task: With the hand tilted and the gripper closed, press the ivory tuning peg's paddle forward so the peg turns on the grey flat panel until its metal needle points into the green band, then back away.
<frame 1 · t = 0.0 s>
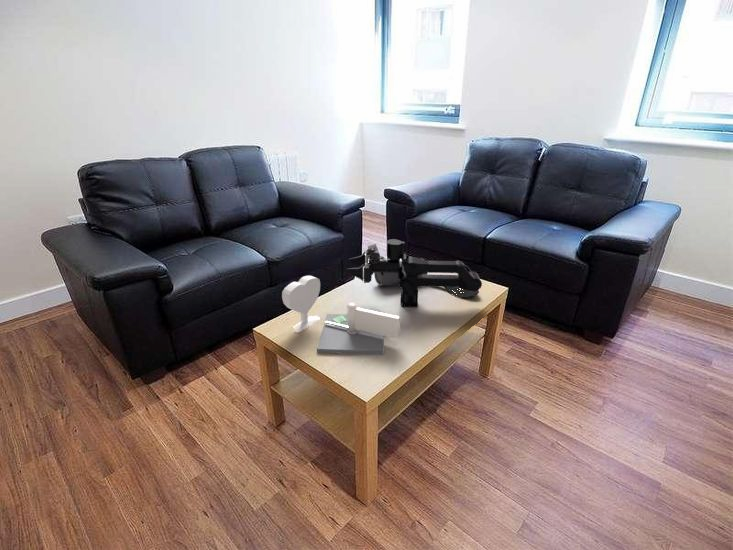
hand: (346, 265, 152), 17 cm above the table, tool horizontal, fingers open, 9 cm apart
hairbrush: (449, 291, 168), on the table
grey flat panel: (353, 334, 138), on the table
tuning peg: (360, 319, 134), point 7 cm above the table, hinge at 0.0°
heart sculpture: (304, 324, 144), on the table
bluetooth speaker: (400, 282, 175), on the table
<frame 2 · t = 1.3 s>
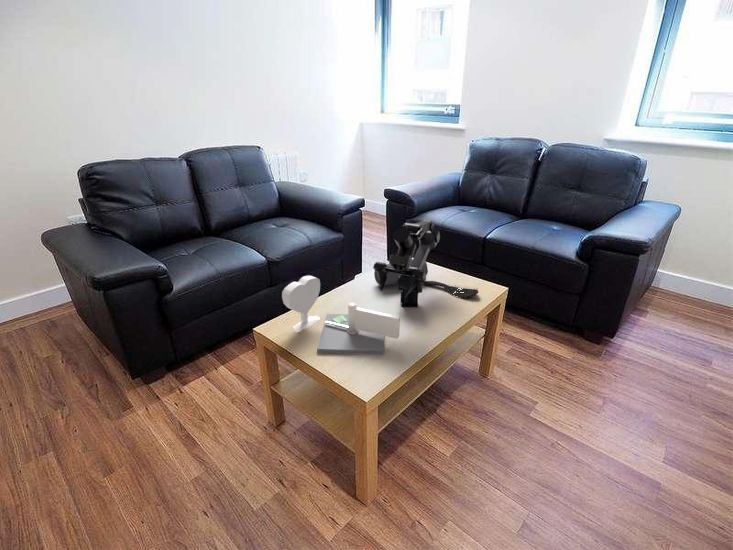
hand: (392, 294, 136), 14 cm above the table, tool tilted 45°, fingers open, 9 cm apart
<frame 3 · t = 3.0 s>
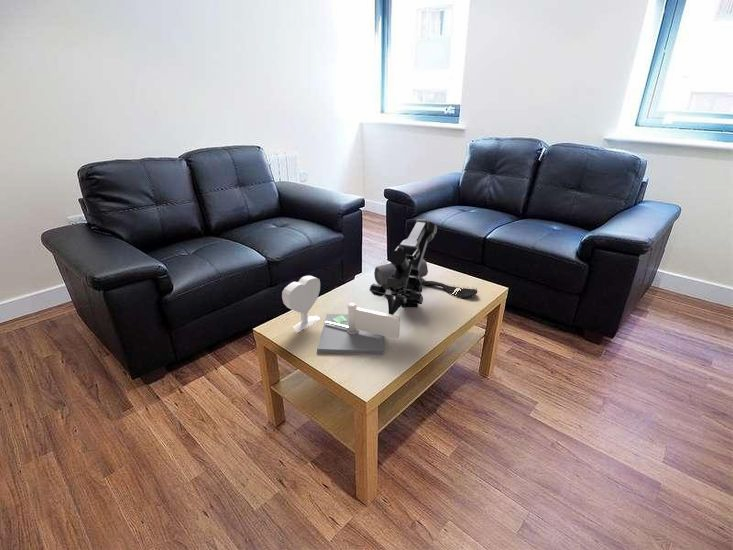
hand: (390, 316, 135), 7 cm above the table, tool tilted 45°, fingers closed
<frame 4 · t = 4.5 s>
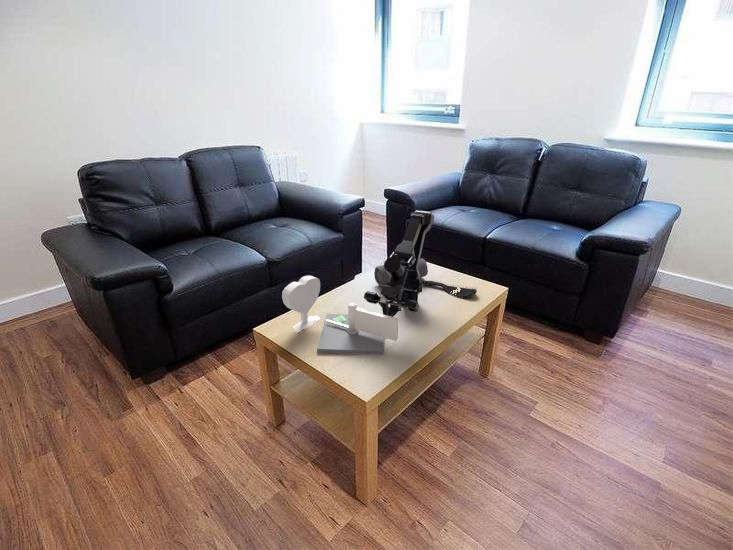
hand: (384, 325, 131), 7 cm above the table, tool tilted 45°, fingers closed, pressing on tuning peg
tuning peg: (360, 319, 134), point 7 cm above the table, hinge at 4.7°, touching gripper
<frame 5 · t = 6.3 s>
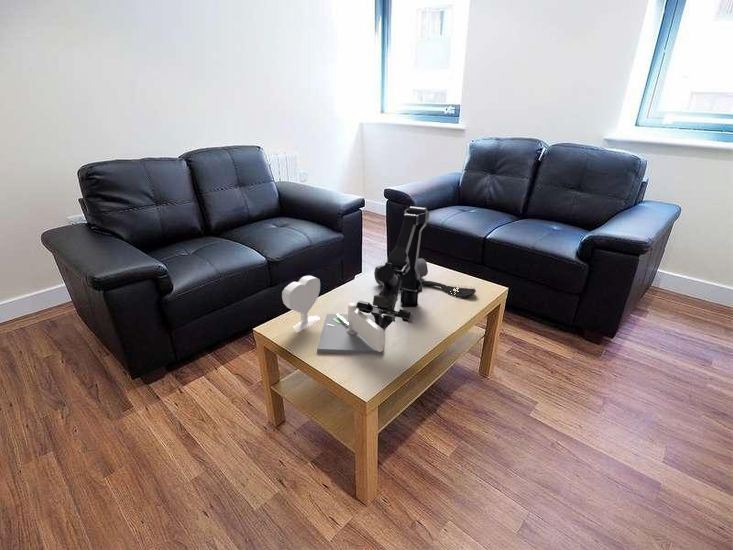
hand: (377, 336, 126), 6 cm above the table, tool tilted 45°, fingers closed
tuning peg: (357, 321, 133), point 7 cm above the table, hinge at 32.5°, touching gripper
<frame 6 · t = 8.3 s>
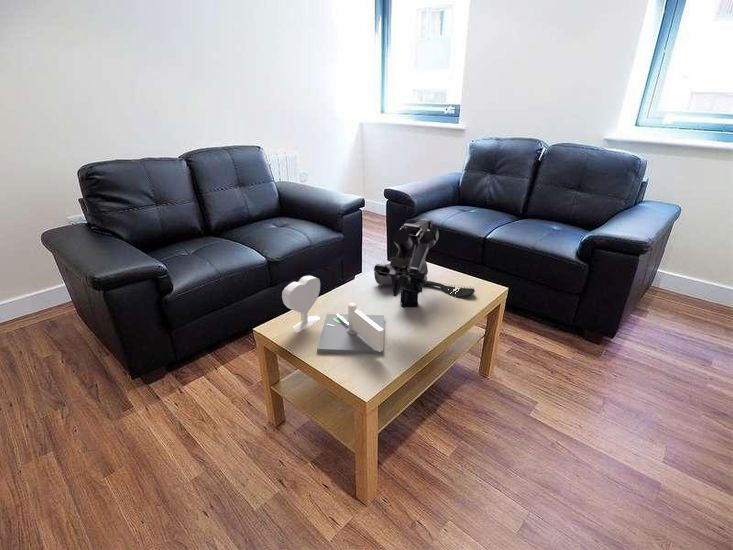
hand: (394, 296, 136), 13 cm above the table, tool tilted 45°, fingers closed
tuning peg: (357, 321, 133), point 7 cm above the table, hinge at 32.5°
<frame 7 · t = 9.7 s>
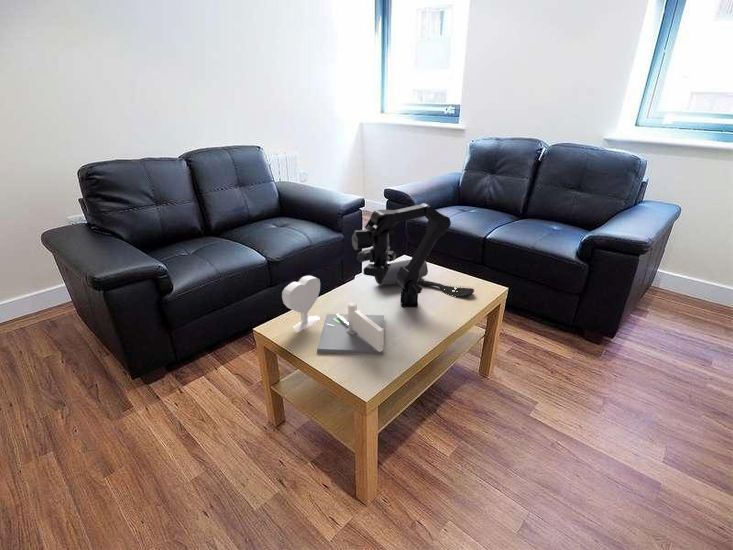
hand: (380, 283, 148), 12 cm above the table, tool pointing down, fingers closed
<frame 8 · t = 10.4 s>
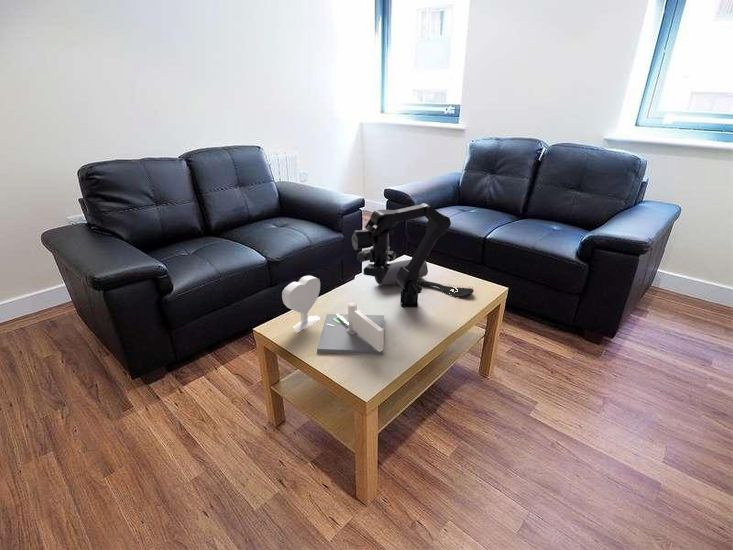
hand: (380, 283, 148), 12 cm above the table, tool pointing down, fingers closed
at the end: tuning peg at +32° (first picture: +0°); heart sculpture moved 0.2 cm from its start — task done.
